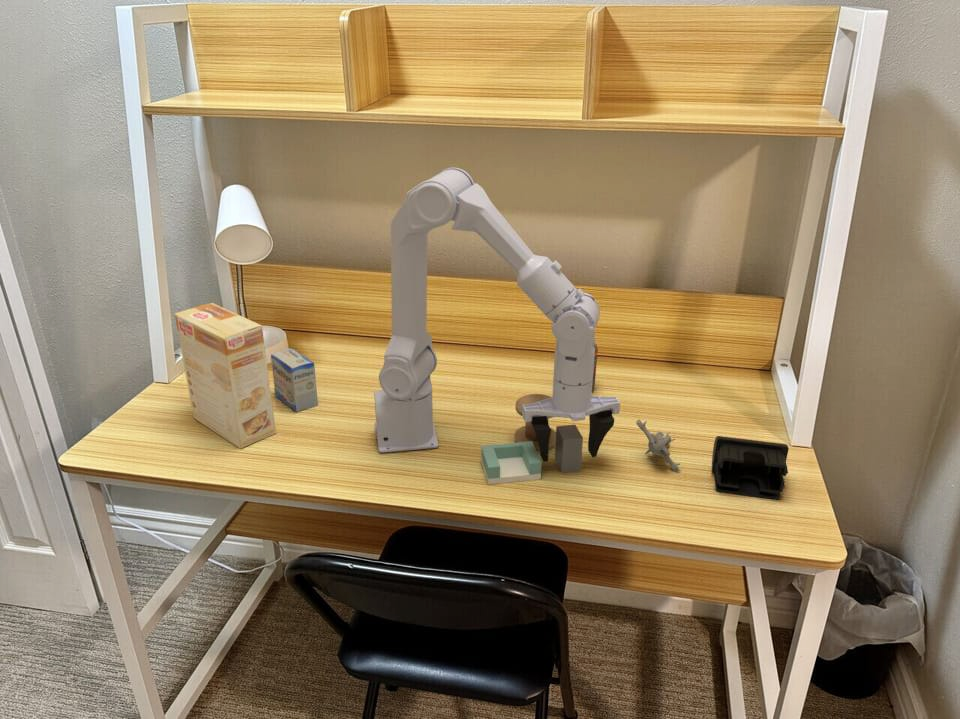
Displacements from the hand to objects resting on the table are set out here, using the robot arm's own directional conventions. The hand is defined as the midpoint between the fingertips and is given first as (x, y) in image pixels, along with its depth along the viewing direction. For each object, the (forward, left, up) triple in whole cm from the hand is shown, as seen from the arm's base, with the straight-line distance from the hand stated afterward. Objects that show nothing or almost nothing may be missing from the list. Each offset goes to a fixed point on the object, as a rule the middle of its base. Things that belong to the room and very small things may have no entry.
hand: (568, 456), depth 116 cm
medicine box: (-42, +28, -2) cm, 51 cm away
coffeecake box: (-52, +21, -2) cm, 56 cm away
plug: (0, 0, -2) cm, 2 cm away
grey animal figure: (+14, 0, -2) cm, 14 cm away
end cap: (+25, -9, -2) cm, 27 cm away
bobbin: (-3, +8, -2) cm, 9 cm away
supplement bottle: (+9, +24, -2) cm, 26 cm away
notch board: (-9, 0, -2) cm, 9 cm away
